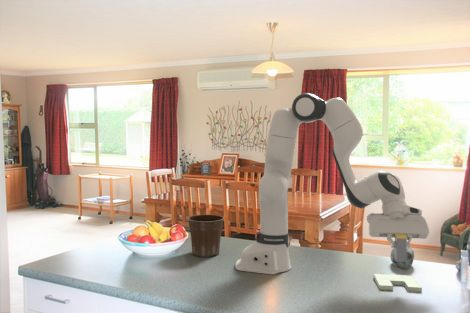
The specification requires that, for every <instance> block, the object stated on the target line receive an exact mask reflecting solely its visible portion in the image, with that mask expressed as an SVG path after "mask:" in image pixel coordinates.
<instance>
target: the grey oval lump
mask: <svg viewBox="0 0 470 313" xmlns="http://www.w3.org/2000/svg"><path fill="white" fill-rule="evenodd" d="M394 257H395V248H392V250H391V252H390V261H391V262H392V263H393V265H394V266H396V267H397V268H399V269H402V270H408V269H410V268H411V267H412V265H413V264H414V263H413V262H414V260H415V259H414V258H415V252H414V250H413V248H411V247H410V248H406V262H396V260H395V259H394Z"/></svg>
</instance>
